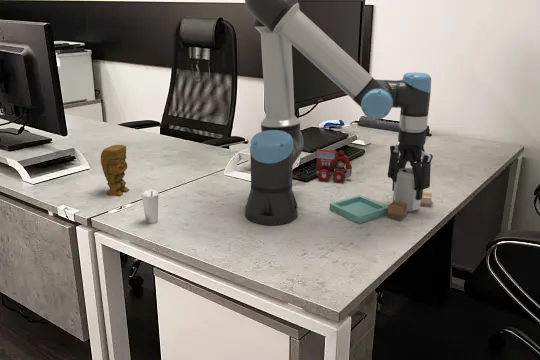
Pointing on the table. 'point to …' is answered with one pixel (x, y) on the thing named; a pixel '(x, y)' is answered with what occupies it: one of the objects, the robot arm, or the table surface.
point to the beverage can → (405, 187)
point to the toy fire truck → (332, 165)
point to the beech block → (426, 199)
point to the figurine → (114, 168)
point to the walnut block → (397, 211)
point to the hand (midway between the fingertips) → (405, 205)
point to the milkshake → (150, 205)
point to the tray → (359, 209)
